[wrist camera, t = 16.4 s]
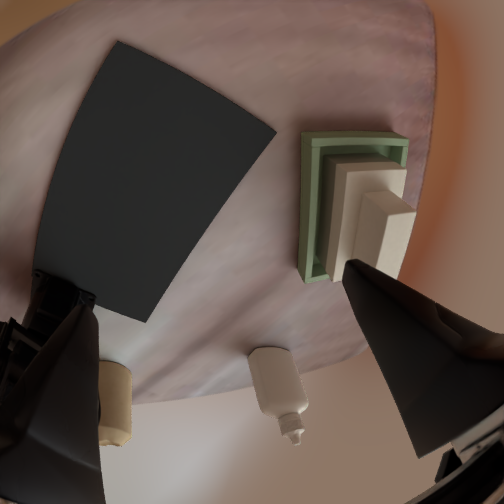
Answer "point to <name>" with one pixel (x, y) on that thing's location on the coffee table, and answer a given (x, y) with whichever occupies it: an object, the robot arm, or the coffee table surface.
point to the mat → (141, 180)
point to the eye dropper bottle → (279, 389)
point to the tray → (311, 182)
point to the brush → (363, 213)
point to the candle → (114, 404)
